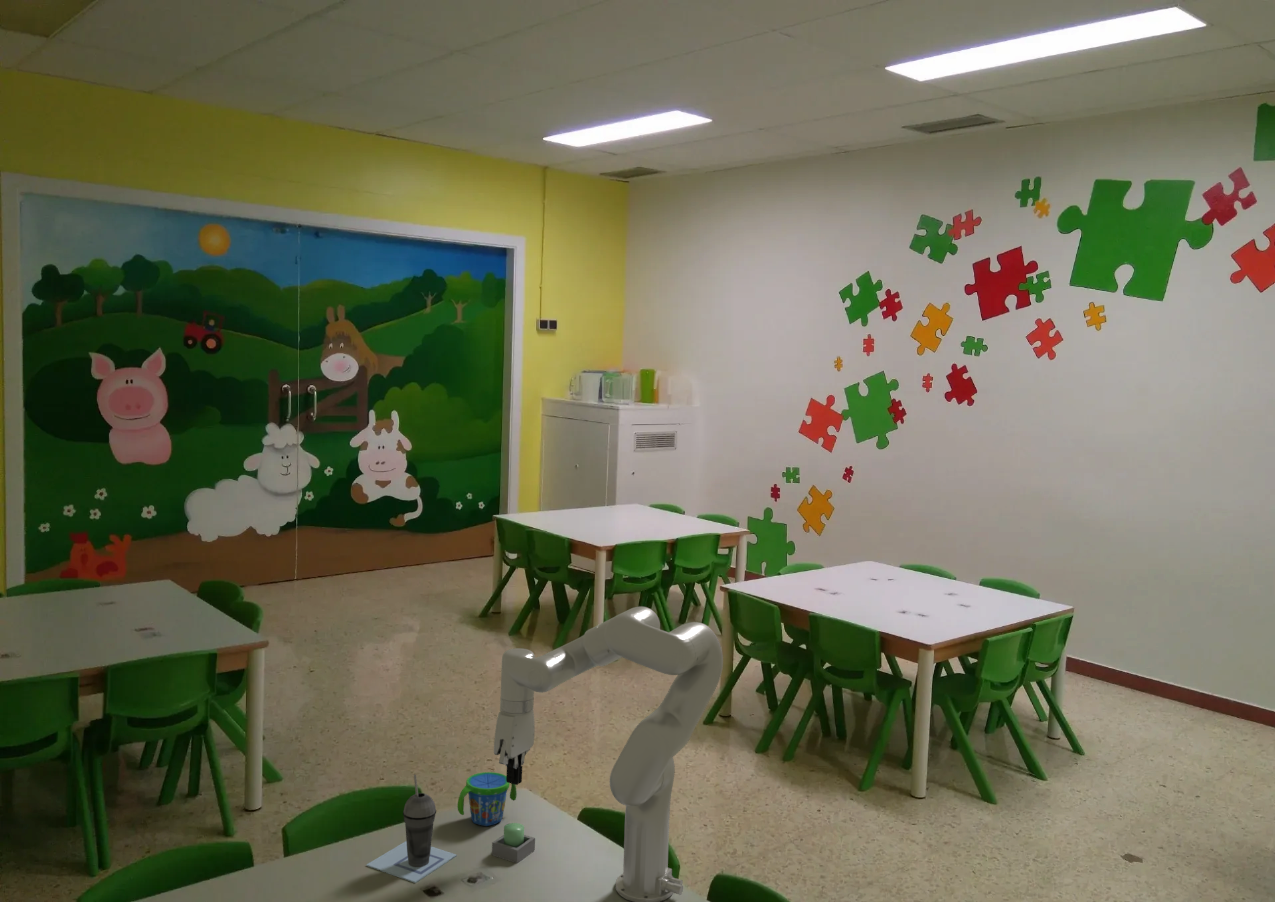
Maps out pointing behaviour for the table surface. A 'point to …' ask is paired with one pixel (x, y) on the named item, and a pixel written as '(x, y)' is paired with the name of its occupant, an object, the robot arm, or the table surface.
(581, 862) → the table surface
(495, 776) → the snack cup
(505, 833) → the button
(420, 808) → the beverage cup
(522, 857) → the button housing
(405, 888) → the table surface
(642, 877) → the robot arm
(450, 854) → the paper
